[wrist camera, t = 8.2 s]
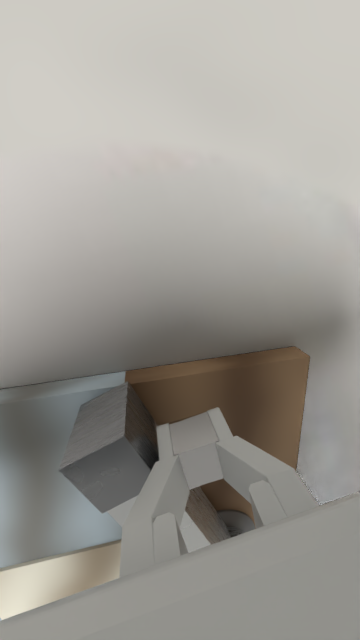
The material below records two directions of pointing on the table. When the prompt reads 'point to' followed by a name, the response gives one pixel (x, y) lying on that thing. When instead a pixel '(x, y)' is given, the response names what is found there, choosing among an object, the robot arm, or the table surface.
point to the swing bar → (129, 464)
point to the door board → (164, 406)
